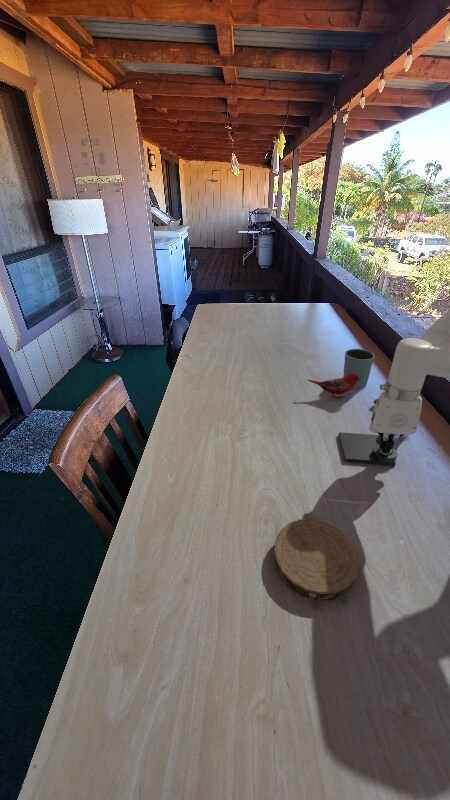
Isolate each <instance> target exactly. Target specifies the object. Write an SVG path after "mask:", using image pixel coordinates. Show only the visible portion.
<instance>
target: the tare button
mask: <svg viewBox="0 0 450 800" xmlns="http://www.w3.org/2000/svg"><path fill="white" fill-rule="evenodd" d="M379 452H380V453H381V454H383V455H391V452H392V451H390V454H389V453H383V452H382V449H381V448H380V449H379Z"/></svg>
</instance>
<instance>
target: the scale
mask: <svg viewBox="0 0 450 800" xmlns="http://www.w3.org/2000/svg"><path fill="white" fill-rule="evenodd" d="M337 436H338V440H339V444H340V449H341V453H342V458H343V461H344V463H349V464H362V465H373V466H383V467H385V466H386V467H396V464H397V461H396V460H397V458H398V452H397V449H395V448H394V447H393V449H391V451H392V452H391V455H383V454H381V453H380V452H379V449H380V447H379V444H380V440H381V436H380V435H379V434H370V433H354V432H342V431H341V432H340V431H339V432H338V435H337Z"/></svg>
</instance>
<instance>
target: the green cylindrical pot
mask: <svg viewBox="0 0 450 800" xmlns="http://www.w3.org/2000/svg"><path fill="white" fill-rule="evenodd" d="M375 356H376V355H375V353H373V352H372V351H370V350H367V349H364V348H363V349H362V348H350V349H347V350H346V351H345V352H344V362H343V364H344V365H343V376H342V378H343V377H345V376H346V375H348V374H352V373H355V374H357V375H358V377H359V378H360V379H361V380H358V381H357V383H356V384H355V385H354V387H353V388H352V389H364V388H366V386H367V385H368V381H369V377H370V374H371V370H372V366H373V363H374V360H375Z"/></svg>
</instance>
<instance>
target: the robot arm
mask: <svg viewBox="0 0 450 800" xmlns="http://www.w3.org/2000/svg"><path fill="white" fill-rule="evenodd" d="M426 376H433V377H439V378H443V379H450V309H449V310H447V311H446V312H445V313H443V314H442V315H441V316H440V317H439V318H437V319H436V321H434V322H433V323H432V325H430V326H429V327H428V328H427V329H426V331H425V332H424V333H423V334H422V335H421V336H420V338H416V337H406V338H403V339H401V340H400V341H399V342H398V343H397V345H396V347H395V352H394V356H393V359H392V363H391V366H390V370H389V373H388V378H387V380H386V382H385V383H381V384H380V385H379V390H380V391H381V393H380V395H379V396H378V398H377V399H378V400H377V402H376V405H375V404H374V408H373V411H372V414H371V417H370V421H371V422H370V424H369V426H368V430H369V431H370V432H371V433H374V434H377V435H380V436H381V440H380V444H379V447H380V448H381V449H382V452H383V453H389V454H390V451H391V449H393V448H394V446H395V443H396V442H397V441H398V440H399V439H400V438H403V437H402V436H404V435H407V436H411V435H414V434H415V433H416V432H417V430H418V427H419V423H420V419H421V414H422V407H423V406H422V405H423V398H422V396H421V392H422V389H423V386H424V383H425V380H426Z"/></svg>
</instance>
